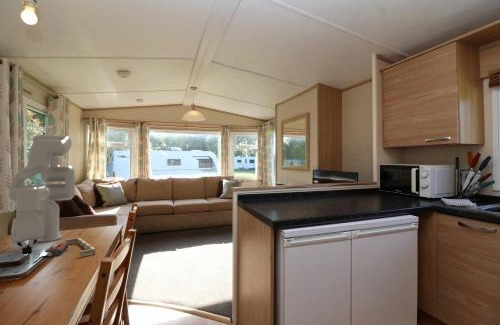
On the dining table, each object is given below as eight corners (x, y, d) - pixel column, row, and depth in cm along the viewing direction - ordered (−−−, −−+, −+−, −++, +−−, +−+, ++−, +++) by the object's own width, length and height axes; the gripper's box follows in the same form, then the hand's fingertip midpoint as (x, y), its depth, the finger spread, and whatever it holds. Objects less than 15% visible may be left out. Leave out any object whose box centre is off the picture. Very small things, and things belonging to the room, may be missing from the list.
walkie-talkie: (48, 249, 124) (31, 264, 106) (48, 241, 124) (31, 254, 106) (69, 247, 128) (56, 261, 109) (69, 239, 128) (56, 251, 109)
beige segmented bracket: (65, 244, 131) (65, 239, 131) (79, 242, 136) (79, 237, 136) (80, 257, 113) (80, 251, 113) (95, 253, 118) (95, 248, 118)
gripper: (47, 211, 118) (46, 249, 118) (3, 215, 107) (2, 258, 106) (50, 213, 113) (49, 253, 113) (5, 218, 102) (3, 262, 101)
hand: (26, 255), depth 110 cm, fingers closed
